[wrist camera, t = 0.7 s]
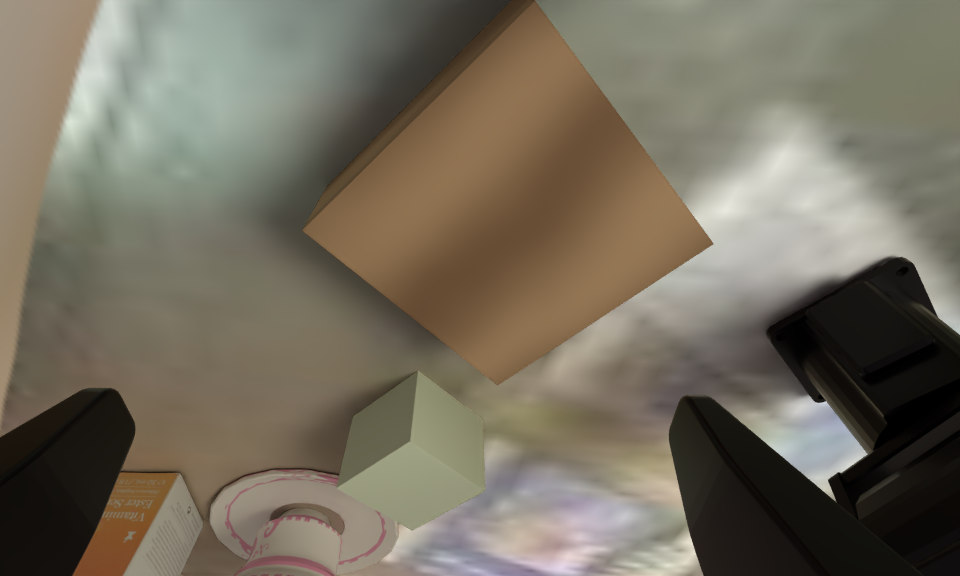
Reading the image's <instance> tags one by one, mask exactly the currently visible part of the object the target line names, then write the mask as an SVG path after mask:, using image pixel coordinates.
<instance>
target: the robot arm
mask: <svg viewBox="0 0 960 576" xmlns="http://www.w3.org/2000/svg"><path fill="white" fill-rule="evenodd" d="M898 269H899V270H898ZM778 334H779V335H778ZM766 335H767V337H768V339H769V340H770V342H771V343H772V344H773V346H774V347H775V348H776V350H777V351H778V353H779V354H780V355H781V357H782V358H783V359H784V361H785V362H786V364H787V365H788V366H789V368H790V369H791V370H792V372H793V373H794V375H795V376H796V377H797V379H798V380H799V381H800V383H801V384H802V386H803V387H804V388H805V390H806V391H807V392H808V394H809V395H810V397H811V398H812V399H813V401H815V402H817V403H821V402H825V401H827V403H828V404H829V405H830V407H831V408H832V409H833V410H834V412H835V413H836V414H837V415H838V417H839V418H840V419H841V421H842V422H843V423H844V424H845V426H846V427H847V428H848V430H849V431H850V432H851V433H852V435H853V436H854V437H855V439H856V440H857V441H858V442H859V444H860V445H861V446H862V447H863V449H864V450H865V451H866V453H867V454H868V455H866V456H865V457H863V458H862V459H861V460H859V461H858V462H856V463H855V464H854V465H852V466H851V467H849V468H848V469H847V470H845V471H844V472H842V473H839V472H838V473H837V474H835V475H834V476H832V477H831V478H830V479H828V482H829V484H830V487H831V489H832V492H833V494H834V496H835V499H836V502H835V501H834V500H833V499H832V498H831V497H829V496H828V495H827V494H826V493H825V492H823V491H822V490H821V489H820V488H819V487H817V486H816V485H815V484H814V483H813V482H811V481H810V480H809V479H808V478H807V477H806V476H804V475H803V474H802V473H801V472H800V471H798V470H797V469H796V468H795V467H794V466H792V465H791V464H790V463H789V462H788V461H786V460H785V459H784V458H783V457H782V456H780V455H779V454H778V453H777V452H776V451H775V450H773V449H772V448H771V447H770V446H769V445H767V444H766V443H765V442H764V441H763V440H761V439H760V438H759V437H758V436H757V435H755V434H754V433H753V432H752V431H751V430H749V429H748V428H747V427H746V426H745V425H744V424H742V423H741V422H740V421H739V420H738V419H736V418H735V417H734V416H733V415H732V414H730V413H729V412H728V411H727V410H726V409H724V408H723V407H722V406H721V405H720V404H718V403H717V402H716V401H715V400H714V399H712V398H711V397H709V396H705V395H686V396H683V397H682V398H681V399H680V401H679V403H678V406H677V409H676V412H675V414H674V417H673V420H672V423H671V426H670V429H669V443H670V448H671V452H672V457H673V461H674V466H675V470H676V475H677V480H678V484H679V489H680V493H681V498H682V502H683V507H684V511H685V516H686V520H687V524H688V528H689V532H690V536H691V539H692V542H693V545H694V549H695V552H696V555H697V558H698V561H699V564H700V566H701V569H702V572H703V575H704V576H960V335H959V334H958V333H957V332H955V331H954V330H953V329H952V328H950V327H949V326H948V325H947V324H945V323H944V322H943V321H942V320H940V319H939V318H938V316H937V314H936V312H935V310H934V308H933V305H932V303H931V301H930V299H929V297H928V294H927V292H926V290H925V288H924V285H923V283H922V281H921V279H920V277H919V274H918V272H917V270H916V268H915V266H914V264H913V263H912V262H910V261H909V260H908V259H906V258H903V257H899V258H895V259H893V260H891V261H889V262H887V263H885V264H884V265H882V266H880V267H878V268H876V269H875V270H873V271H871V272H869V273H867V274H865V275H864V276H862V277H860V278H858V279H856V280H855V281H853V282H851V283H849V284H847V285H845V286H844V287H842V288H840V289H838V290H836V291H835V292H833V293H831V294H829V295H827V296H825V297H824V298H822V299H820V300H818V301H816V302H815V303H813V304H811V305H809V306H807V307H805V308H804V309H802V310H800V311H798V312H796V313H795V314H793V315H791V316H789V317H787V318H785V319H784V320H782V321H780V322H778V323H776V324H775V325H773V326H771V327H770V328H769V329H768V330H767V333H766ZM134 436H135V422H134V420H133V418H132V416H131V414H130V412H129V410H128V409H127V407H126V405H125V403H124V401H123V399H122V397H121V395H120V394H119V392H118V391H116V390H115V389H112V388H87V389H83V390H81V391H79V392H77V393H76V394H74V395H72V396H70V397H69V398H67V399H65V400H64V401H62V402H60V403H58V404H57V405H55V406H53V407H52V408H50V409H48V410H46V411H45V412H43V413H41V414H39V415H38V416H36V417H34V418H33V419H31V420H29V421H27V422H26V423H24V424H22V425H21V426H19V427H17V428H15V429H14V430H12V431H10V432H9V433H7V434H5V435H3V436H2V437H0V576H73V574H74V572H75V570H76V568H77V566H78V564H79V562H80V561H81V559H82V557H83V555H84V553H85V551H86V549H87V547H88V545H89V543H90V541H91V539H92V537H93V535H94V533H95V531H96V529H97V527H98V524H99V522H100V520H101V518H102V515H103V513H104V511H105V508H106V506H107V503H108V501H109V498H110V496H111V493H112V491H113V489H114V486H115V484H116V481H117V479H118V476H119V474H120V471H121V469H122V466H123V464H124V461H125V459H126V457H127V454H128V452H129V449H130V447H131V444H132V442H133V439H134Z"/></svg>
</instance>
